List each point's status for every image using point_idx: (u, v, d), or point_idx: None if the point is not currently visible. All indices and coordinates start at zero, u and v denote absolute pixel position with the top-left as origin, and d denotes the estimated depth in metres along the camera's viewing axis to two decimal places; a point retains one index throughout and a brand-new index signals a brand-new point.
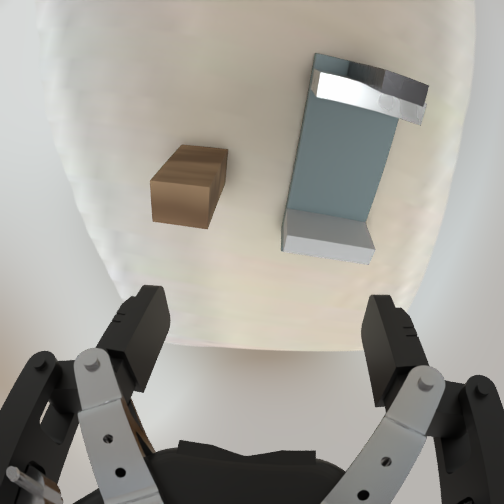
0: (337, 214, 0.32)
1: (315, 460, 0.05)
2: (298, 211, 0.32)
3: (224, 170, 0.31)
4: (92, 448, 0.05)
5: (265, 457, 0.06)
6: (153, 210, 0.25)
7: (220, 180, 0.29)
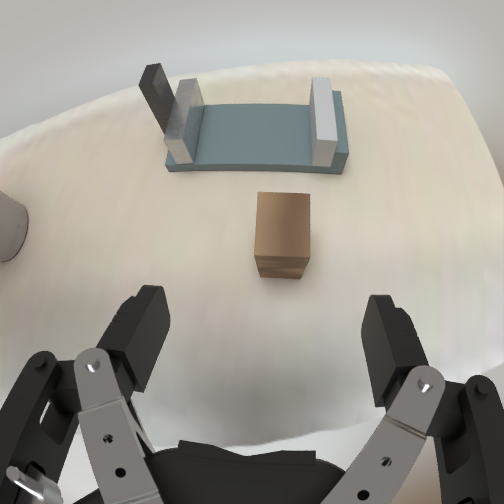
0: (307, 126, 0.33)
1: (315, 460, 0.05)
2: (311, 155, 0.32)
3: None
4: (92, 448, 0.05)
5: (265, 457, 0.06)
6: (293, 254, 0.22)
7: None
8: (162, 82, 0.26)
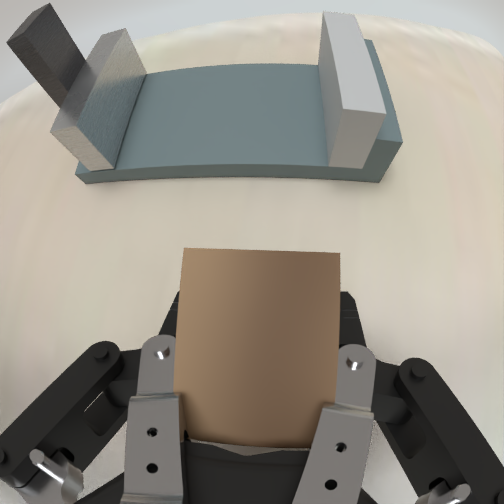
0: (317, 96, 0.18)
1: None
2: (327, 146, 0.17)
3: None
4: (132, 436, 0.05)
5: (265, 458, 0.06)
6: (284, 442, 0.06)
7: None
8: (52, 33, 0.11)
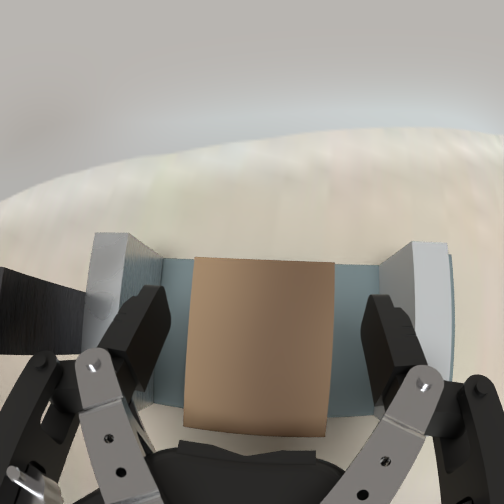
0: None
1: (315, 460, 0.05)
2: None
3: None
4: (93, 448, 0.05)
5: (265, 457, 0.06)
6: (283, 431, 0.07)
7: None
8: (30, 308, 0.09)
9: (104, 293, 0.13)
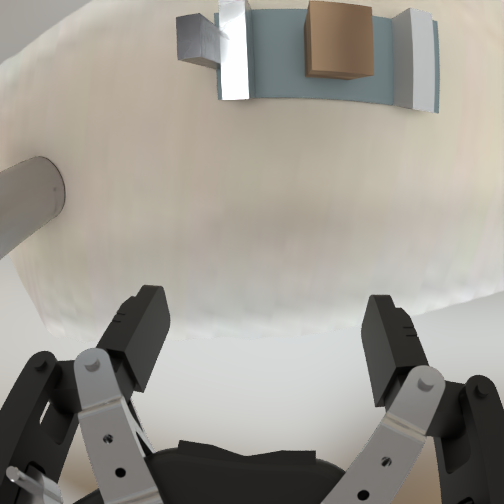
0: (390, 50, 0.21)
1: (315, 460, 0.05)
2: (394, 93, 0.23)
3: None
4: (92, 448, 0.05)
5: (265, 457, 0.06)
6: (356, 71, 0.16)
7: None
8: (207, 34, 0.16)
9: (234, 27, 0.18)
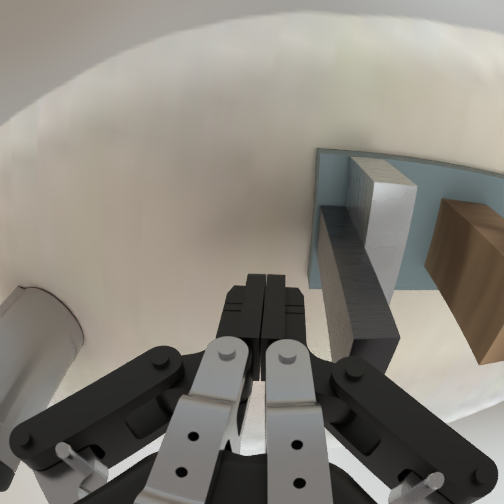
0: None
1: None
2: None
3: (473, 209, 0.15)
4: (171, 436, 0.05)
5: (265, 458, 0.06)
6: None
7: (493, 224, 0.13)
8: None
9: (387, 247, 0.13)
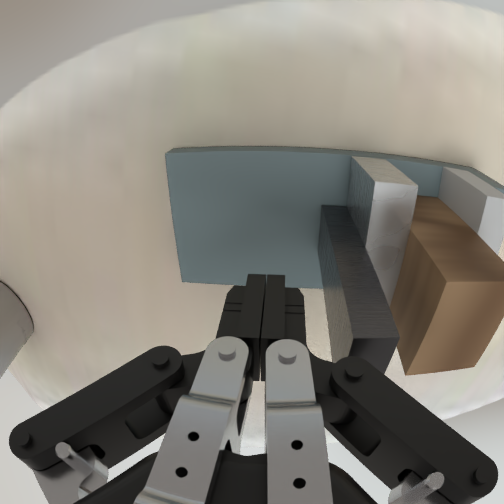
0: None
1: None
2: None
3: (416, 202, 0.15)
4: (171, 436, 0.05)
5: (265, 458, 0.06)
6: (457, 367, 0.11)
7: (433, 218, 0.13)
8: None
9: (388, 247, 0.13)
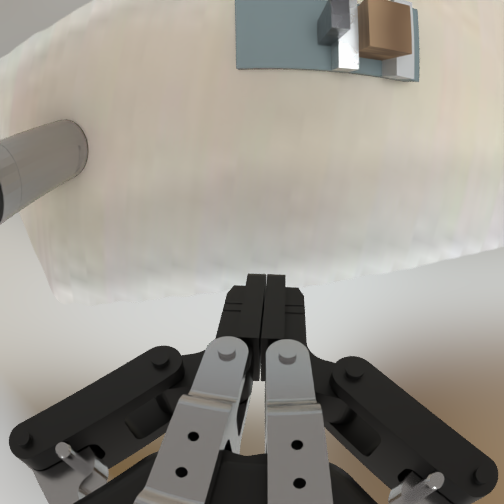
0: None
1: None
2: (382, 66, 0.27)
3: None
4: (171, 436, 0.05)
5: (265, 458, 0.06)
6: (400, 49, 0.19)
7: None
8: None
9: None
